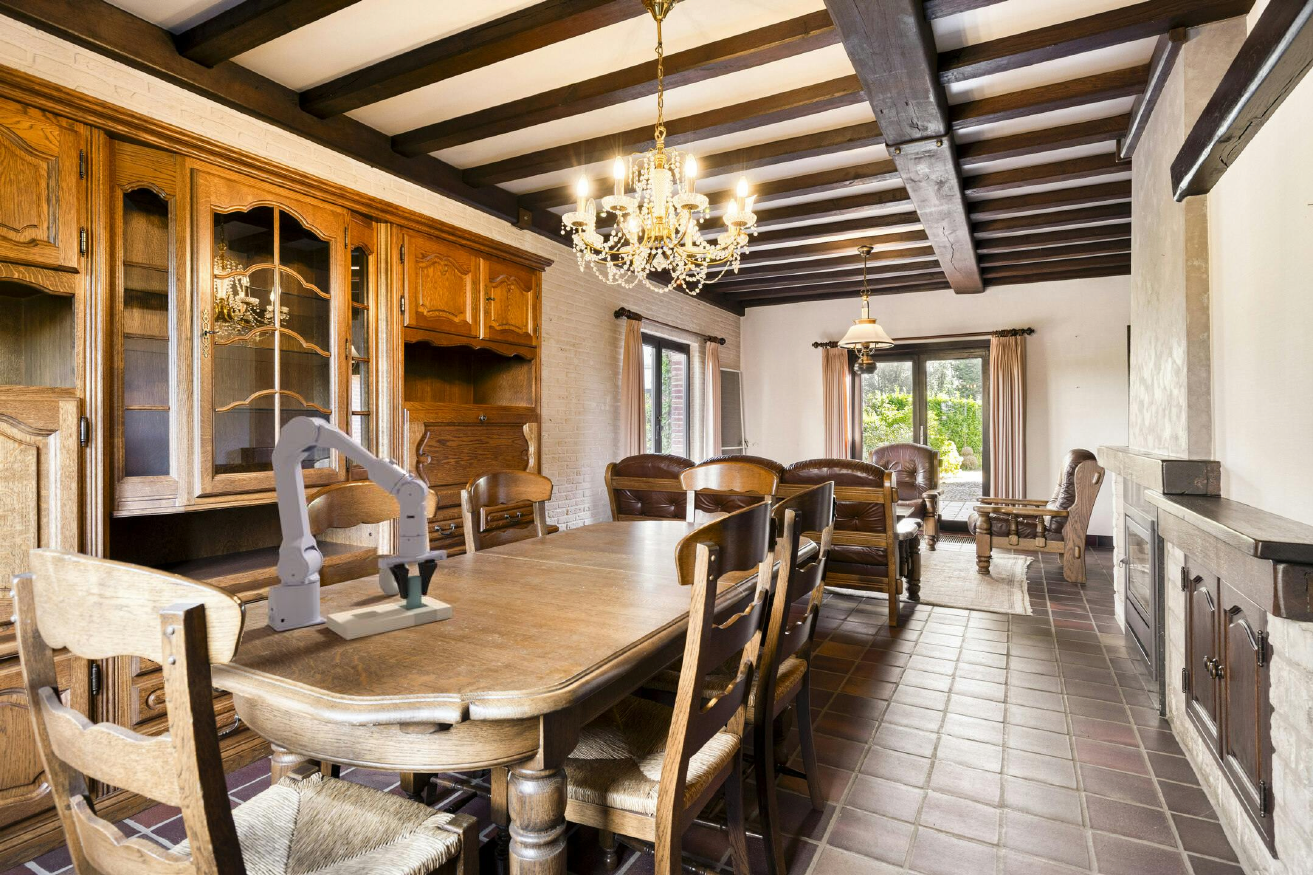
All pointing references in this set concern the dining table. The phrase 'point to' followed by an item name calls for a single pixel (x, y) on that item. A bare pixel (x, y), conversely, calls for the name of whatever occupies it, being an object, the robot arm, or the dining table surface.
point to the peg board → (386, 618)
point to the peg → (414, 593)
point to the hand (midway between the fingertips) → (413, 596)
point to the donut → (388, 581)
